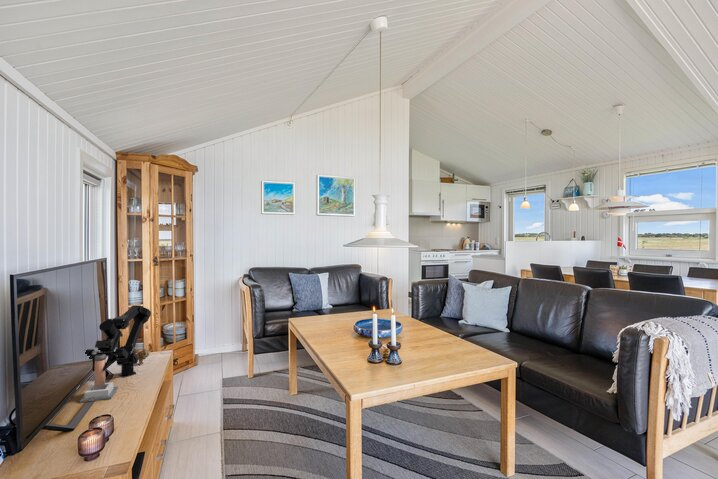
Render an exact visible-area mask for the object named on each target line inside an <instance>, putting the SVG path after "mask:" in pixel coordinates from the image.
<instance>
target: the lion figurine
mask: <svg viewBox="0 0 718 479" xmlns="http://www.w3.org/2000/svg"><path fill="white" fill-rule="evenodd" d="M150 354H151V351H150V350H149V348H144V349H142V350H141V351H139V352H136V355H137V356H138V365H139V366H143V365H142V364H145V362H143V361H144V360H146V358H148V357H149V356H150Z"/></svg>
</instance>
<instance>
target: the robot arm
mask: <svg viewBox="0 0 718 479" xmlns="http://www.w3.org/2000/svg"><path fill="white" fill-rule="evenodd" d="M151 316H152V311H151V310H150V309H148V308H146V307H144V306H143V305H140V304H139V305H138V304H137V305H136V304H135V305H134V304H133V305H132V306H130V308H129V309H128V310H127V311H125V312H124V313H123V314H122V315H119V316H116V317H114V318H106V320H104V321H103V322H101V323H100V324H99V330H100V331H101V333H103V335H104V336H106V338H105V339H103V340H96V341H95V346H94V348H96V349H97V350H98V351H97V350H95V349H94V348H92V349H91V348H86V349H87V350H86V352H85V354H87V356H90V357H89V359H88V360H92V369H91V370H92V372H95V356H96V355H99V354H106V357H107V359H106V363H105V366H104V368H103V371H105V372H106V370H107V369H108V368H109V367H111V366H112V365H113V364H114V363H115V362H116V364H117V365H118V366H119V365H121V368H120V369H121V372H119V373H118V376H120V377H122V378H127V377H129V376H133V375H136V374H137V372H136V371H135V370H134V369H135V364H138V363H139V360H138V356H137V355H136V353H137V351H136V348H135V347H136V346H137V342H138V340H139V337H140V334H141V331H142V329H143V326H144V324H146V323H147V322H148V321H149V319H150V317H151ZM131 320H133V324H132V326H131V329H130V332H129V335H128V337H127V339H126V342H125V344H124V345H123V346H120V347H119V348H118V346H119V341H120V338H121V337H122V338H123V337H124V336H123V333H122V330H126V329H127V328H128V326H129V325H130V321H131ZM117 365H116V366H117Z"/></svg>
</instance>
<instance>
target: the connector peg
mask: <svg viewBox="0 0 718 479" xmlns="http://www.w3.org/2000/svg"><path fill="white" fill-rule="evenodd" d="M106 358H107V356H106V354H99V355H96V356H95V371H94V383H93V384H94V386H102V385H104V384H105V383H106V370H105V371H103V368H104V366H105V363H106V361H107V359H106Z"/></svg>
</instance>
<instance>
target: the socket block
mask: <svg viewBox="0 0 718 479" xmlns="http://www.w3.org/2000/svg"><path fill="white" fill-rule="evenodd" d="M114 384H115V383H114V381H112V382H111V381H110V382H105V384H104V385H102V386H94V383H93V384H90V385H89V387H88V388H87V389H86V390H85V391H84V395H83V396H82V397H81V399H80V400H79V404H83V403H84V402H85V403H87V402H86V401H87V400H88V399H89V398H91V397H94V398H95V399H94V400H95V401H94V402H100V401H107V400H112V398H113V397H114V395H115V394H116V393H117V390H118V389H119V386H115V385H114Z"/></svg>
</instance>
